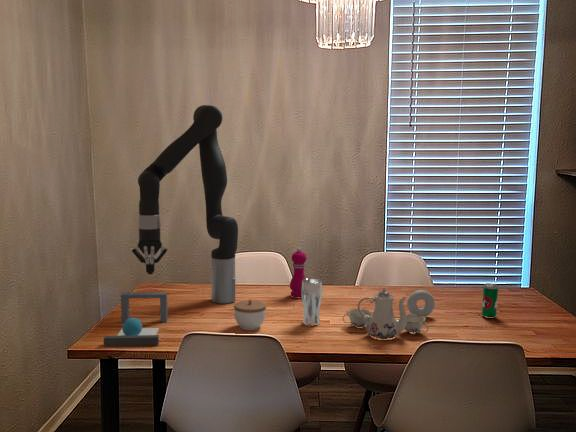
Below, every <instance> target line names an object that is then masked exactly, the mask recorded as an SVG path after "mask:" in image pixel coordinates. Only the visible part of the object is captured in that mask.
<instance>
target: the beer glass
mask: <svg viewBox="0 0 576 432" xmlns="http://www.w3.org/2000/svg"><path fill="white" fill-rule="evenodd" d="M322 281H323V280H321V279H319V278H306V279H304V280H302V298H301V302H302V309H303V317H302V322H303V323H304V324H307V325H315V324H319V323H320V324H321V320H320V308H321V304H322V296H323V287H322V286H323V283H322ZM303 323H302V324H303ZM304 324H303V325H304ZM320 324H319V325H320Z"/></svg>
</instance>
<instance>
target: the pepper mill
mask: <svg viewBox="0 0 576 432" xmlns="http://www.w3.org/2000/svg"><path fill="white" fill-rule="evenodd" d="M307 259H308V258H307V255H306V253H305V252H303V251H302V248H301V247H297V249H296V251H294V252H293V253H292V255H291V261H292V262H293V263H292V268H293V274H292V278H291V280H290V282H289V288H290V290H291V291H290V297H291V296H293V297H302V280H304V279H307V278H306V276H305V268H306V263H305V262H307ZM293 297H292V298H293Z"/></svg>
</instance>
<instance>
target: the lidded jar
mask: <svg viewBox="0 0 576 432" xmlns="http://www.w3.org/2000/svg"><path fill="white" fill-rule="evenodd" d="M233 312H234V320H235V322H236V324H237V325H238V326H239V327H240V328H241V329H242V330H244V331H256V330H258V329H259V328H260V327H261V326H262V324H263V323H264V321H265V319H266V313H267V304H266V303H265V302H263V301H261V300H260V301H259V300H252V299H248V300H242V301H238V302H234V304H233ZM255 329H256V330H255Z"/></svg>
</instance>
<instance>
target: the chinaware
mask: <svg viewBox="0 0 576 432" xmlns="http://www.w3.org/2000/svg"><path fill="white" fill-rule="evenodd" d="M394 298H395V296H394V295H393V294H390V292H389V291H388V290H387V288H386V287H383V288H382V289H381V291H379V292H378V293H376V294H373V297H372V296H371V297H369V296H367V297H362V298H361V299H360V300H359V301H358V303H357V308H352V309H349V310H347V311H345V312H346V314H344V315H342V321H343V323H345V324H350V326H351V325H352V326H354V327H355V326H357V327H363V326H364V327H365V329H366V331H367V332H368V333H369V335H371V336H373V337H376V338H381V339H387V338H393V337H395V336H396V337H397V335H399V334H400V333H401V332H403V331H404V330H405V331H406V332H413V333H414V332H416V333H417V334H419V333H420V334H421V333H427V332H428V331H429V325H428V324H427V323H426V322H427V321H426V320H427V319H426V317H424V316H419V317H418V316H417V315H416V314H411V313H408V314H407V313H406V309H405V305H404V304H405V303H404V302H405V301H406V300H407V297H406V296H404V297H401V298H400V299H399V303H398V310H399V311H398V313H399V318H398V319H397V318H395V314H394V309H393V304H394V303H393V302H394ZM365 300H369V303H370V304H373V303H374V309H373V312H372V311H370V310H369V309H365V308H363V309H361V307H360V305H361V303H362V302H363V301H365ZM345 316H347V317H348V318H349V320H350V321H349V322H348V321H347V322H346V321H345V319H344V317H345ZM424 326H426V328H427V329H426V331H423V330H422V329H423V327H424Z"/></svg>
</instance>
